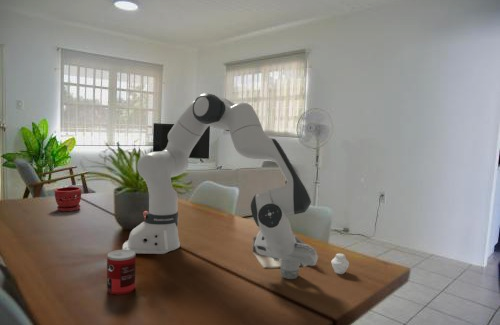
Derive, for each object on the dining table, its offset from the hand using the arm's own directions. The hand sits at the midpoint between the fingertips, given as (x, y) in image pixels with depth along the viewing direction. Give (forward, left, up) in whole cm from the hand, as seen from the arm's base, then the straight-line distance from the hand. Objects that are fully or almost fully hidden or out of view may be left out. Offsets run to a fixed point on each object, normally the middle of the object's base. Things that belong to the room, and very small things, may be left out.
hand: (290, 262), depth 119 cm
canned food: (-54, -2, -5) cm, 54 cm away
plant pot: (-93, +102, -5) cm, 138 cm away
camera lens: (0, 0, -5) cm, 5 cm away
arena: (+2, +15, -5) cm, 16 cm away
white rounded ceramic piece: (+19, 0, -5) cm, 19 cm away
